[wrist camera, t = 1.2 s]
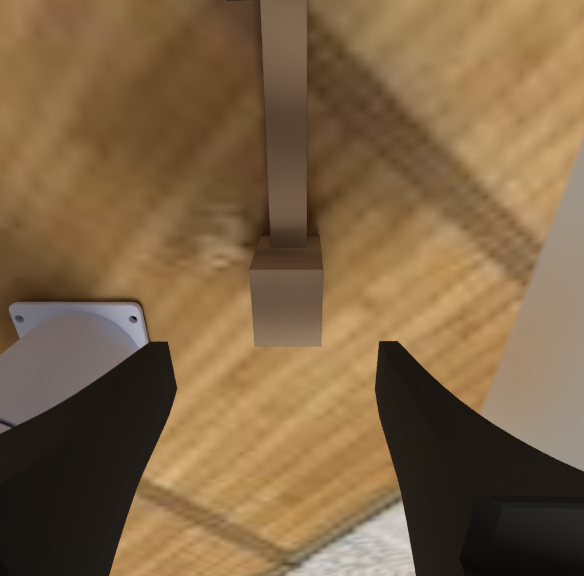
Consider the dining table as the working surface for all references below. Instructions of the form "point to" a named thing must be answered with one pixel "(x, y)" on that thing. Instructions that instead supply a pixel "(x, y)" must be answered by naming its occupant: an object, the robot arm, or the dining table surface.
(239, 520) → the dining table surface
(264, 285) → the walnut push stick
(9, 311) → the robot arm
